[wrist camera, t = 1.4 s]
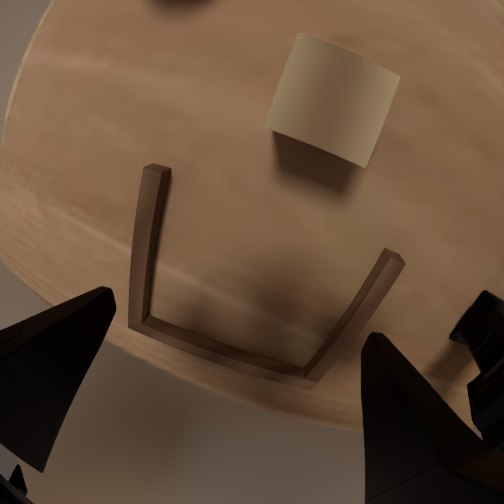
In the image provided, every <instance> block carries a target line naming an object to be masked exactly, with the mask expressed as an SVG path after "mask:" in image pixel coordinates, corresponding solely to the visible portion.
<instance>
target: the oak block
mask: <svg viewBox="0 0 504 504" xmlns="http://www.w3.org/2000/svg"><path fill="white" fill-rule="evenodd" d="M399 80H400V76H398V75H396V74H394V73H393V72H391V71H389V70H387V69H385V68H383V67H381V66H379V65H378V64H376V63H374V62H372V61H369V60H367V59H365V58H363V57H361V56H359V55H357V54H354V53H352V52H350V51H348V50H345V49H343V48H340V47H338V46H336V45H333V44H330V43H328V42H325V41H322V40H320V39H317V38H314V37H311V36H308V35H305V34H302V33H299V32H298V34H297V37H296V39H295V42H294V45H293V47H292V50H291V52H290V55H289V57H288V60H287V63H286V65H285V68H284V71H283V73H282V76H281V79H280V81H279V84H278V87H277V89H276V92H275V95H274V97H273V100H272V103H271V106H270V108H269V111H268V114H267V117H266V120H265V122H264V125H263V127H264V128H267V129H270V130H273V131H275V132H278V133H281V134H284V135H287V136H289V137H292V138H295V139H298V140H300V141H303V142H305V143H308V144H310V145H313V146H315V147H318V148H320V149H323V150H325V151H327V152H330V153H332V154H334V155H337V156H339V157H341V158H344V159H346V160H348V161H350V162H352V163H355V164H357V165H359V166H361V167H363V168H365V169H366V166H367V164H368V162H369V159H370V157H371V154H372V152H373V150H374V147H375V145H376V142H377V140H378V137H379V135H380V132H381V130H382V127H383V124H384V122H385V119H386V117H387V114H388V111H389V108H390V106H391V103H392V100H393V97H394V95H395V92H396V89H397V86H398V83H399Z"/></svg>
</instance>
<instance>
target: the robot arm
mask: <svg viewBox="0 0 504 504" xmlns="http://www.w3.org/2000/svg"><path fill="white" fill-rule="evenodd" d="M115 312H116V303H115V299H114V294H113V291H112V289H111V288H108V287H104V286H101V287H98V288H96V289H94V290H91V291H89V292H87V293H84V294H82V295H80V296H77V297H75V298H73V299H70V300H68V301H66V302H63V303H61V304H59V305H56V306H54V307H52V308H50V309H47V310H45V311H43V312H41V313H39V314H36V315H34V316H32V317H30V318H27V319H26V320H23V321H21V322H19V323H16V324H14V325H12V326H10V327H7V328H5V329H2V330H0V504H34V503H33V502H32V501H30V500H29V499H28V498H26V497H25V496H26V494H27V492H28V491H27V488H26V485H25V481H24V478H23V474H22V470H21V467H20V465H19V464H18V461H19V459H21V460H23V461H24V462H26V463H27V464H29V465H30V466H32V467H33V468H35V469H36V470H38V471H39V472H41V473H43V471H44V468H45V466H46V463H47V460H48V458H49V455H50V452H51V450H52V447H53V445H54V442H55V440H56V437H57V435H58V432H59V430H60V428H61V425H62V423H63V421H64V418H65V416H66V414H67V412H68V409H69V407H70V405H71V403H72V401H73V399H74V397H75V395H76V393H77V390H78V389H79V386H80V384H81V383H82V381H83V379H84V377H85V374H86V373H87V371H88V369H89V367H90V365H91V363H92V361H93V359H94V357H95V356H96V354H97V352H98V350H99V348H100V346H101V344H102V342H103V340H104V338H105V335H106V333H107V331H108V328H109V326H110V324H111V321H112V319H113V317H114V315H115ZM450 338H451V340H452V341H455V342H458V343H462V344H465V345H467V346H468V348H469V350H470V352H471V354H472V356H473V358H474V360H475V362H476V364H477V366H478V368H479V370H480V372H481V373H480V374H479V375H478V376H477V377H476V378H475V379H474V380H473V381H472V382H469V383H468V384H467V389H468V397H469V403H470V409H471V417H472V421H473V424H474V425H475V426H476V427H477V429H478V430H479V431H480V432H481V435H482V439H483V441H482V440H481V439H480V438H479V437H478V436H477V435H476V434H475V433H474V432H473V431H472V430H471V429H470V428H469V427H468V426H467V425H466V424H465V423H464V422H463V421H462V420H461V419H460V418H459V417H458V416H457V414H456V413H455V412H454V411H453V410H452V409H451V408H450V407H449V406H448V404H447V403H446V402H445V401H444V400H442V398H441V396H440V395H439V394H438V393H437V392H436V391H435V390H434V388H433V387H432V386H431V385H430V384H429V383H428V382H427V381H426V379H425V378H424V377H423V376H422V375H421V374H420V373H419V372H418V371H417V369H416V368H415V367H414V366H413V365H412V364H411V363H410V362H409V361H408V360H407V359H406V357H405V356H404V355H403V354H402V353H401V352H400V351H399V350H398V349H397V348H396V347H395V346H394V345H393V344H392V342H391V341H390V340H389V339H388V338H387V337H386V336H385V335H384V334H383V333H379V332H371V333H370V334H369V336H368V338H367V340H366V342H365V344H364V346H363V348H362V351H361V402H362V413H363V428H364V446H365V504H504V301H503V300H502V299H500V298H498V297H497V296H495V295H493V294H492V293H490V292H488V291H486V290H485V291H483V292H482V294H481V295H480V297H479V298H478V300H477V301H476V302H475V304H474V305H473V307H472V308H471V309H470V311H469V312H468V313H467V315H466V316H465V317H464V319H463V320H462V321H461V323H460V324H459V325H458V326H457V328H456V329H455V330H454V331H453V333H452V334H451V335H450Z"/></svg>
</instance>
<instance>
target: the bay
mask: <svg viewBox="0 0 504 504" xmlns="http://www.w3.org/2000/svg"><path fill="white" fill-rule="evenodd" d="M170 169H171V168H168V167H164V166H161V165H158V164H154V163H153V164H150V165H147V166H145V167H144V168H143V173H142V178H141V184H140V190H139V196H138V203H137V210H136V217H135V225H134V234H133V244H132V254H131V267H130V283H129V310H128V328H130V329H133V330H135V331H137V332H139V333H141V334H143V335H146V336H148V337H150V338H153V339H155V340H157V341H160V342H162V343H164V344H167V345H169V346H172V347H174V348H177V349H179V350H182V351H184V352H187V353H189V354H192V355H195V356H197V357H200V358H203V359H206V360H209V361H211V362H214V363H217V364H220V365H223V366H226V367H229V368H232V369H235V370H238V371H242V372H245V373H248V374H251V375H255V376H258V377H262V378H265V379H269V380H273V381H276V382H280V383H284V384H288V385H292V386H296V387H300V388H305V389H309V390H311V389H312V388H313V387H314V386H315V385H316V384H317V383H318V381H319V380H320V379H321V378H322V377H323V376H324V375H325V374H326V372H327V371H328V370H329V369H330V368H331V367H332V365H333V364H334V363H335V362H336V361H337V360H338V358H339V357H340V356H341V355H342V353H343V352H344V351H345V350H346V349H347V347H348V346H349V345H350V344H351V342H352V341H353V340H354V338H355V337H356V336H357V335H358V333H359V332H360V331H361V329H362V328H363V327H364V325H365V324H366V323H367V321H368V320H369V318H370V317H371V316H372V314H373V313H374V311H375V310H376V309H377V307H378V306H379V304H380V303H381V301H382V300H383V299H384V297H385V296H386V294H387V293H388V291H389V290H390V288H391V286H392V285H393V283H394V282H395V280H396V279H397V277H398V276H399V274H400V272H401V271H402V269H403V267H404V266H405V262H404V261H403V259H402V258H401V256H400V255H399V254H397V253H395V252H393V251H390V250H388V249H386V248H384V250H383V252H382V254H381V255H380V257H379V259H378V261H377V262H376V264H375V266H374V267H373V269H372V271H371V273H370V274H369V276H368V278H367V279H366V281H365V282H364V284H363V286H362V287H361V289H360V290H359V292H358V294H357V295H356V297H355V298H354V300H353V301H352V303H351V304H350V306H349V307H348V309H347V310H346V312H345V313H344V315H343V316H342V318H341V319H340V321H339V322H338V324H337V325H336V327H335V328H334V329H333V331H332V332H331V334H330V335H329V336H328V338H327V339H326V341H325V342H324V343H323V345H322V346H321V347H320V349H319V350H318V351H317V353H316V354H315V355H314V357H313V358H312V359H311V361H310V362H309V363H308V365H307V366H306V367H305V368H301V367H297V366H293V365H290V364H286V363H283V362H279V361H276V360H272V359H269V358H265V357H262V356H259V355H256V354H252V353H249V352H246V351H243V350H240V349H237V348H234V347H231V346H228V345H225V344H222V343H219V342H216V341H214V340H211V339H208V338H205V337H203V336H200V335H197V334H195V333H192V332H189V331H187V330H184V329H182V328H179V327H177V326H174V325H172V324H169V323H167V322H164V321H162V320H160V319H157V318H155V317H153V316H150V315H148V305H149V295H150V286H151V278H152V270H153V262H154V255H155V248H156V242H157V236H158V230H159V224H160V218H161V213H162V207H163V202H164V197H165V192H166V188H167V183H168V178H169V174H170Z"/></svg>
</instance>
